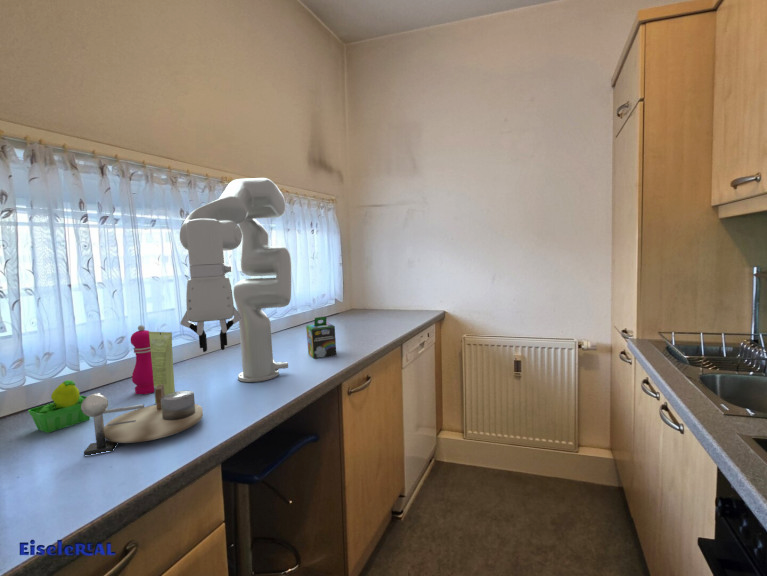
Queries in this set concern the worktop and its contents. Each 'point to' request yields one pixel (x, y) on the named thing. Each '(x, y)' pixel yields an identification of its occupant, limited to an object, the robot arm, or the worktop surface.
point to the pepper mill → (142, 362)
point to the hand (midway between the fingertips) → (214, 349)
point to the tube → (162, 360)
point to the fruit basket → (60, 409)
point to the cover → (178, 405)
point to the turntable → (148, 423)
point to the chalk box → (321, 339)
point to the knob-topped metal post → (100, 421)
